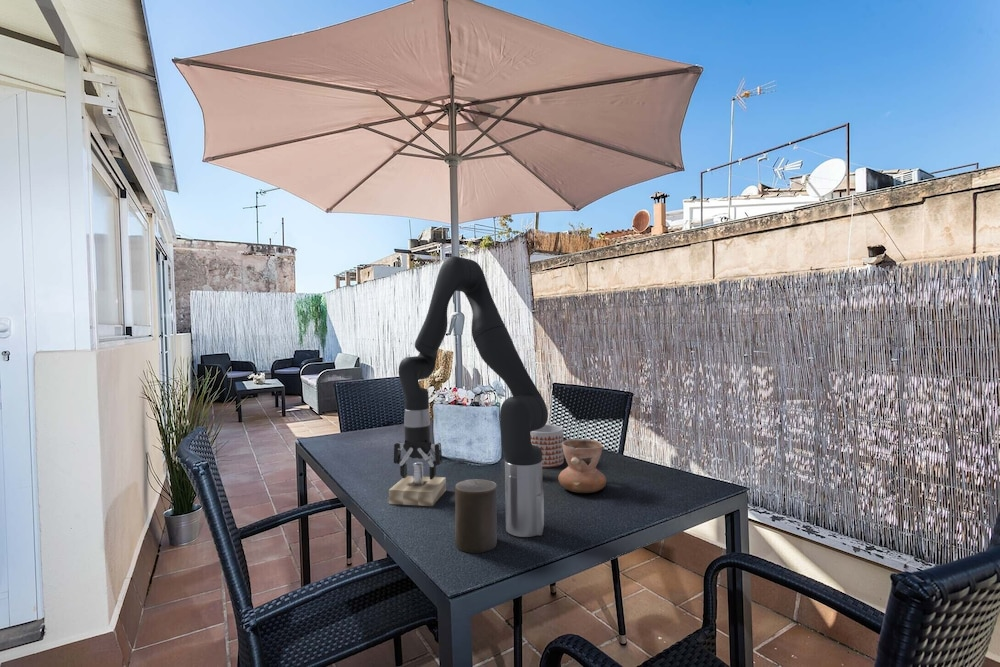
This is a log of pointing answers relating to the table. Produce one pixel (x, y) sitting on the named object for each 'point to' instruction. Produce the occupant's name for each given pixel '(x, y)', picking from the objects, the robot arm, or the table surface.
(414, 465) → the steel pin
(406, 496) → the oak hole block
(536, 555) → the table surface
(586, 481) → the terracotta incense burner
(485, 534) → the pillar candle
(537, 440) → the planter
